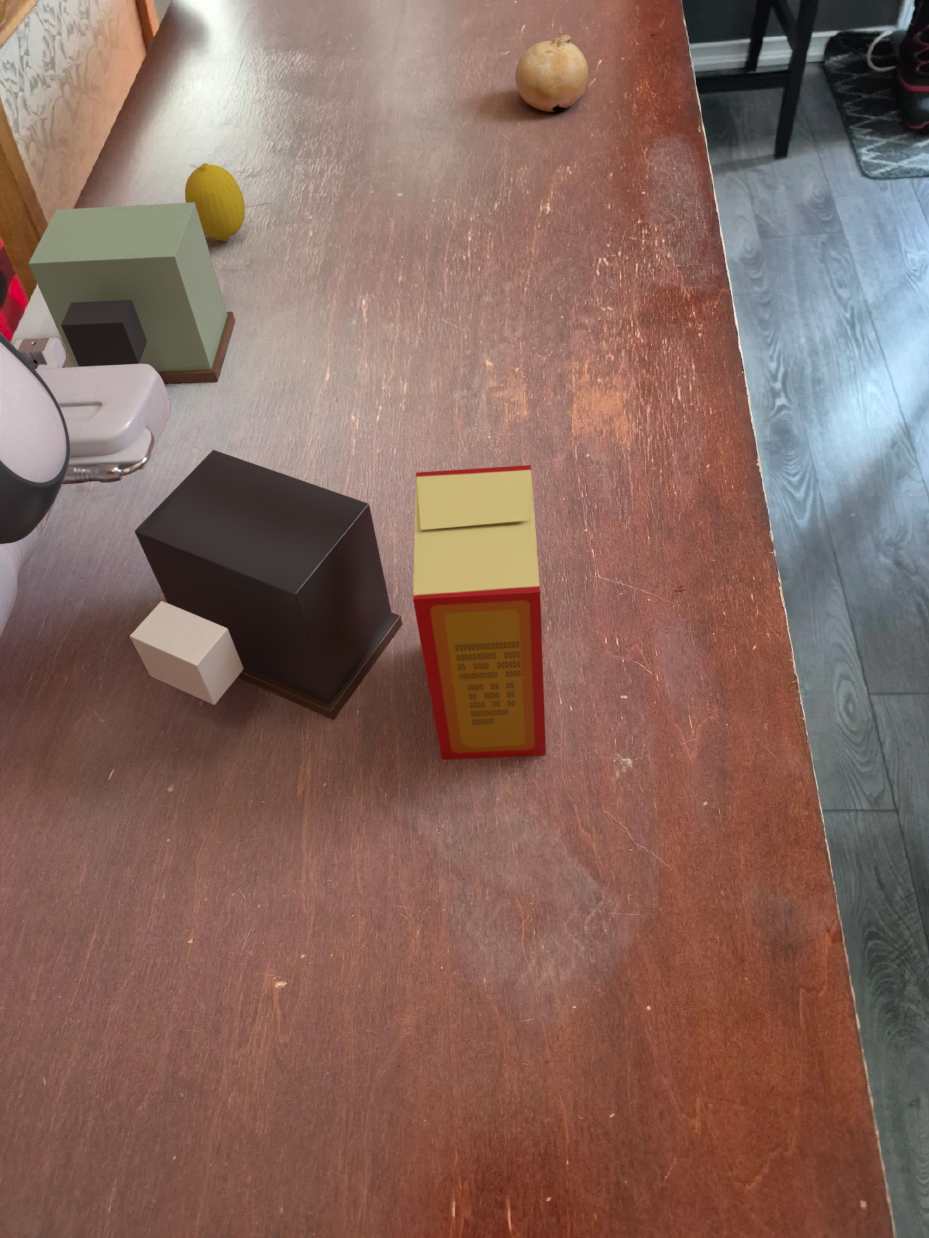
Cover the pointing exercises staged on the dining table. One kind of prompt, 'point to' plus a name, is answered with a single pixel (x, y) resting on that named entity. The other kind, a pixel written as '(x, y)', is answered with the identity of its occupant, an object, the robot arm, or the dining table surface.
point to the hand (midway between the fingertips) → (42, 346)
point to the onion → (552, 74)
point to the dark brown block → (104, 333)
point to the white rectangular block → (187, 652)
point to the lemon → (216, 201)
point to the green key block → (141, 281)
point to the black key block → (276, 576)
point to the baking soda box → (480, 610)
